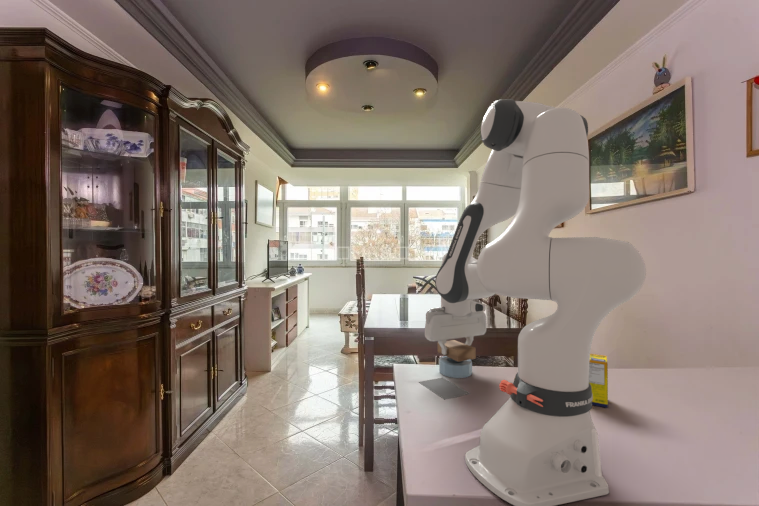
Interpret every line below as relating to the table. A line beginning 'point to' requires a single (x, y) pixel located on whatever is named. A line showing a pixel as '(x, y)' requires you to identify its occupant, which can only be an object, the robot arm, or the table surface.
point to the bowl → (455, 367)
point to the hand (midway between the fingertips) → (456, 352)
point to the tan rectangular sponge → (458, 350)
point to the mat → (444, 388)
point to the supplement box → (599, 379)
